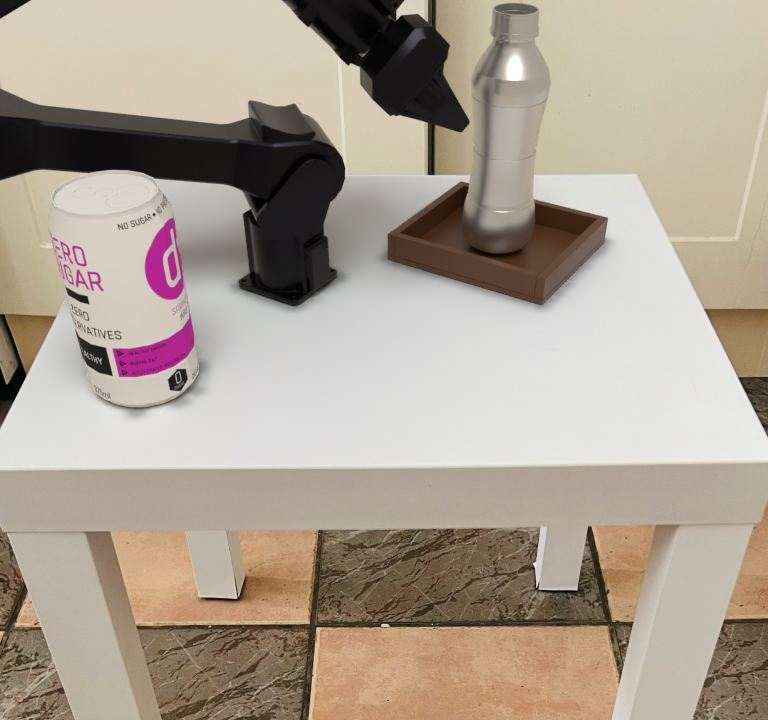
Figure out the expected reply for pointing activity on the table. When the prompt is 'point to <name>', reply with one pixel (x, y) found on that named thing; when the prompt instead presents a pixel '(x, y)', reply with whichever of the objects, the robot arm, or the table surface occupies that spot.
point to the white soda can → (124, 286)
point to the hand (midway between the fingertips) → (446, 107)
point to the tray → (499, 270)
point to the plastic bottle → (506, 132)
